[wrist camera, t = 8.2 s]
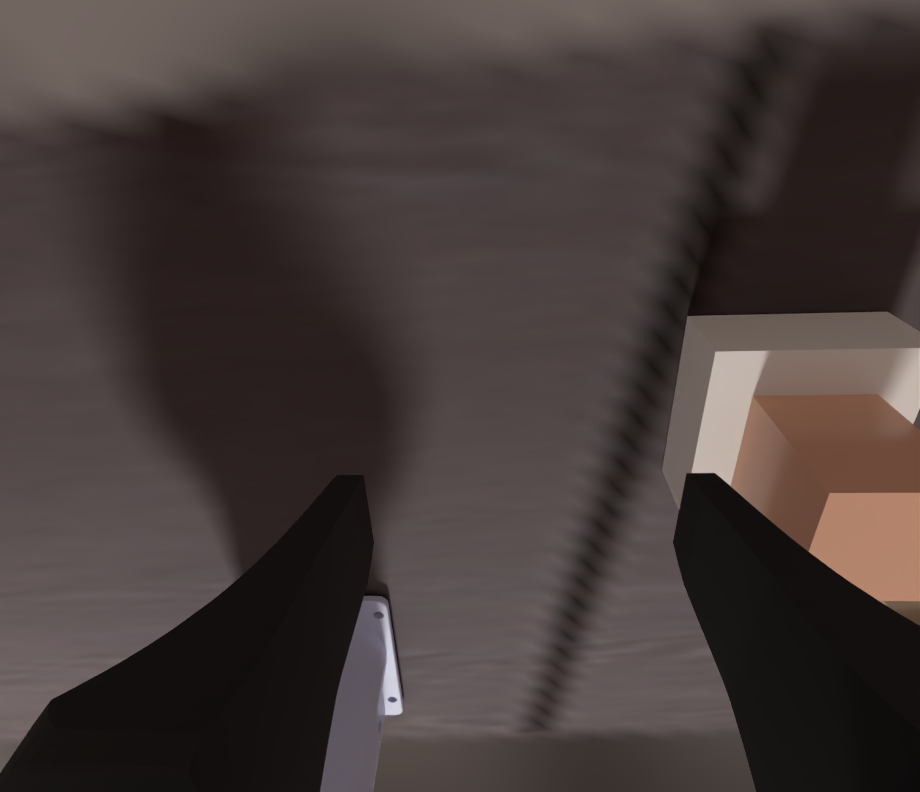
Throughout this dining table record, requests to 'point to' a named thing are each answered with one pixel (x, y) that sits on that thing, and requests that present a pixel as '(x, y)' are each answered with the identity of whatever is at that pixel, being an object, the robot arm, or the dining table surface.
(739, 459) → the terracotta block
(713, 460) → the slab
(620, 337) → the dining table surface
